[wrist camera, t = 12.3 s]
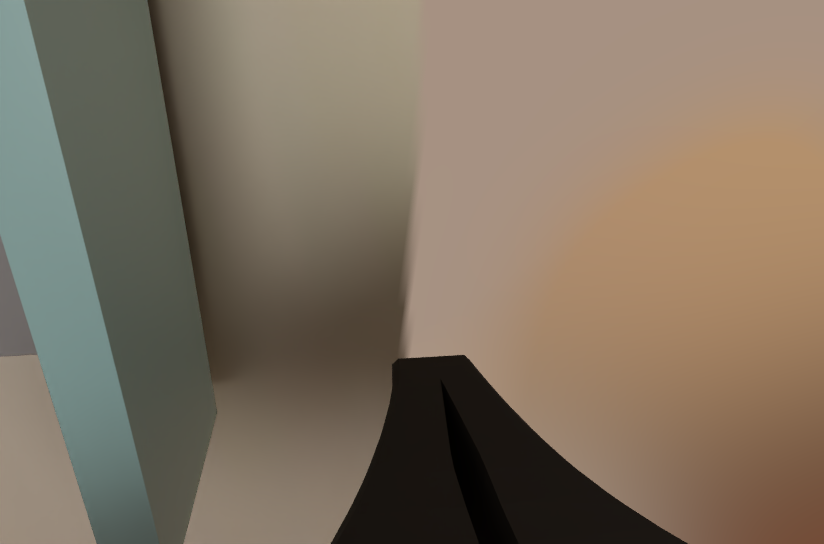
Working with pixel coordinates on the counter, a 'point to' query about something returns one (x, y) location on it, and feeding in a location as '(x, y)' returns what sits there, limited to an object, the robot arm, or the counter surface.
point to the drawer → (102, 260)
